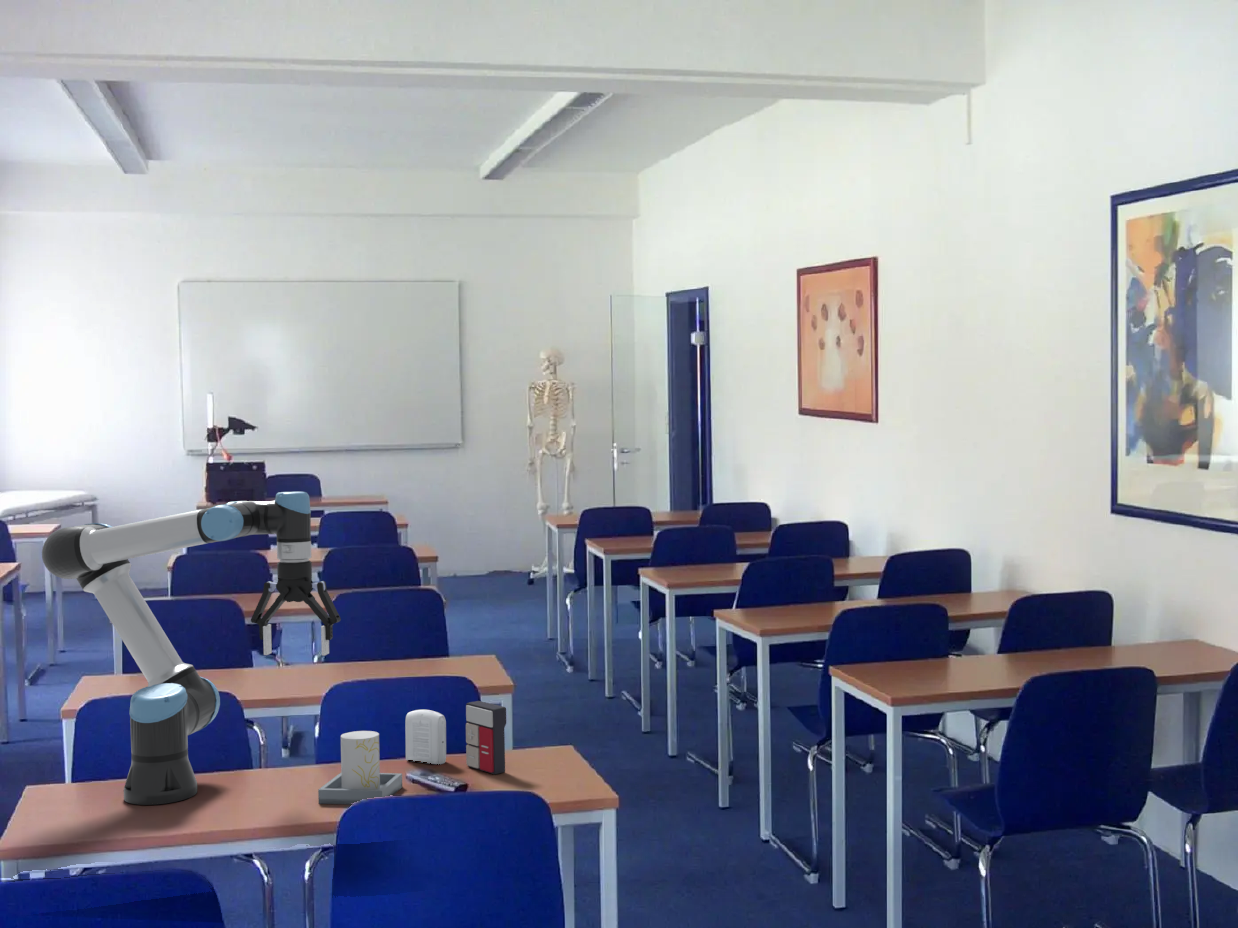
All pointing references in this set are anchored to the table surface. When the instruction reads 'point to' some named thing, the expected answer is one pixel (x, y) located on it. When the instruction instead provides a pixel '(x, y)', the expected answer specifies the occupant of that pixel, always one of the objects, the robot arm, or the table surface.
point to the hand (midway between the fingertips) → (296, 654)
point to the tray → (358, 790)
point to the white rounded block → (425, 736)
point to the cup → (360, 760)
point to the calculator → (485, 737)
